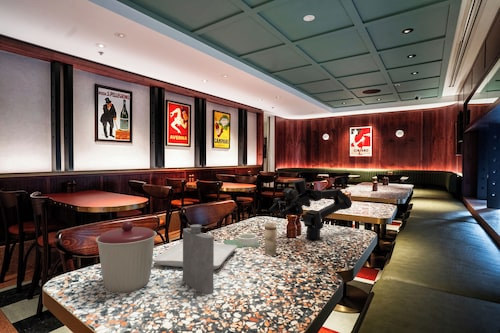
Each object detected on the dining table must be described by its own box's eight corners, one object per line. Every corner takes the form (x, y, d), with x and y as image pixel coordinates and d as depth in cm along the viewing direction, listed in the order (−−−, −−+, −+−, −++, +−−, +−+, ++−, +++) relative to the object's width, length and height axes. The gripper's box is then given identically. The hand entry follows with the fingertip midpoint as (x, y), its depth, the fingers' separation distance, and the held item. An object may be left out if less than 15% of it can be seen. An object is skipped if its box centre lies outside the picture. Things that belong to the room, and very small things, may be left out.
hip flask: (215, 293, 85) (215, 228, 85) (204, 297, 83) (204, 230, 82) (189, 277, 97) (189, 220, 97) (178, 280, 94) (178, 221, 94)
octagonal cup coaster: (251, 237, 148) (251, 231, 148) (264, 245, 135) (264, 238, 134) (219, 242, 140) (219, 235, 140) (229, 250, 127) (229, 242, 127)
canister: (82, 299, 82) (82, 227, 81) (114, 274, 100) (114, 215, 99) (143, 300, 81) (143, 228, 81) (164, 275, 99) (164, 216, 99)
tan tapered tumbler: (272, 250, 127) (272, 222, 126) (278, 254, 122) (278, 224, 122) (262, 252, 124) (262, 223, 124) (268, 255, 120) (268, 225, 119)
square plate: (219, 275, 99) (219, 264, 99) (149, 269, 105) (149, 258, 105) (237, 252, 126) (237, 243, 126) (181, 248, 131) (181, 240, 131)
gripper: (283, 184, 148) (260, 194, 140) (308, 187, 132) (283, 198, 124) (288, 204, 149) (264, 215, 141) (312, 209, 133) (288, 221, 126)
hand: (274, 212), depth 133 cm, fingers open, 9 cm apart
